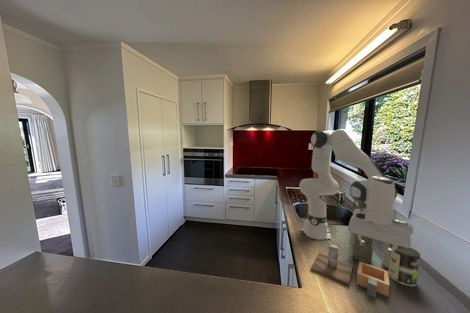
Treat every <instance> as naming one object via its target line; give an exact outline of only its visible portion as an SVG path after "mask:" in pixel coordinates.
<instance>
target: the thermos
mask: <svg viewBox="0 0 470 313" xmlns="http://www.w3.org/2000/svg"><path fill="white" fill-rule="evenodd" d="M357 202H358V201H357ZM366 206H367V204H366V203H364V202H358V203H357V209H366ZM357 235H358V234H354V243H353V244H352V258H353V259H354V260H356V261H358V262H359V261H360V262H363V263H366V264H371V263H372V259H373V255H374V254H373V253H374V252H373V250H374V249H373V238H369V237H365V236H361V239H362V240H363V241H364V246H362V245H360V241H359V239H358V237H357Z"/></svg>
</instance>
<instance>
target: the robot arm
mask: <svg viewBox="0 0 470 313" xmlns="http://www.w3.org/2000/svg"><path fill="white" fill-rule="evenodd" d="M310 144H311V146H312V147H313V150H312V156H311V170H312V171H313V172H314V173H316V174H317V175H318V177H317V178H313V177H310V178H303V179H301V180H300V182H299V190H300V192H301V193H302V194H303V196H305V198H306V199H307V203H308V208H307V209H308V210H307V215H306V216H307V217H306V219H305V220H304V226H303V228H301V232H303V231H304V232H303V233H304V234H306V235H305V236H307V237H308V238H311V239H314V240H318V241H324V239H325V240H328V239H330V240H331V236H332V234H330V233H327V232H329V230H328V229H329V226H328V222H327V220H328V218H327V203H325V201H323V200H322V199H320V196H332V195H336V194H338V192H339V189H340V185H339V183H338V182H337V180H335V179H334V177H333V176H332V173H331V158H332V157H331V156H332V154H331V153H332V151H333V154H334V156H335V157H336V158H337V160H338V161H340V162H341V163H344V164H346V165H347V164H348V165H351V166H354V167H357V168H359V169H361V170H362V171H363V172H364V174H365V176H366V177H367V179H364V180H362V179H361V180H356V181H354V182H352V183H351V184H350V187H349V196H350V197H351V198H352V199H353V200H354V201H356V202H364V203H366V204H367V206H366V209H358V208H356V209H354V210H353V212H352V216H351V217H350V220H349V223H348V228H347V229H348V232H349V233H351V234H354V235H355V234H358V235H357V237H358V239H359V241H360V245H362V246H364V241H363V240H362V239H361V236H365V237H369V238H373V239H374V240H376V241H380V242H383V243H384V242H387V243H391V244H393V247H392V248H388V254H392V255H393V251H395V250H396V249H397V248H398V246H402V247H405V248H409V247H410V248H411V247H412V241H411V240H412V238H411V236H412V234H413V233H414V227H413V226H412V225H411V224H410V223H408V222H406V221H400V220H397V219H394V207H393V206H394V203H395V200H396V198H397V196H398V190H397V188H396V187H395V182H394V180H392V179H391V178H388V177H386V176H385V175H384V173H383V172H382V171H381V169H380V168H379V167H378V165H377V164H376V163H375V162H374V160H373V159H372V157H370V156H369V155H368V154H366V153H365V152H364V151H363V150H362V149H361V148H360V147H359V146H358V145H357V143H356V141H355V139H354V138H353V135H351V134H350V133H349V131H348V130H346V129H343V128H339V129H336V130H317V131H314V132H313V133H312V134H311V137H310Z"/></svg>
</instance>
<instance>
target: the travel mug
mask: <svg viewBox="0 0 470 313" xmlns="http://www.w3.org/2000/svg"><path fill="white" fill-rule="evenodd" d="M390 245H391V243H387V242H383V247H382V256H381V266H383V267H384V268H385V269H387V270H388V269H389V258H390V254H388V248H390Z"/></svg>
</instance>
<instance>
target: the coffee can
mask: <svg viewBox="0 0 470 313" xmlns="http://www.w3.org/2000/svg"><path fill="white" fill-rule="evenodd" d="M392 247H393V244H391V245H390V248H392ZM420 258H421V253H420V252H419V251H417V250H416V249H414V248H413V247H411V246H410V247H409V248H405V247H402V246H398V248H397V249H396V250H395V251H393V255H392V254H390V258H389V269H387V271H388V274H389V278H391V279H392V280H393V281H395V282H397V283H399V284H400V285H404V286H406V287H416V286H418V274H419V265H420Z"/></svg>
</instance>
